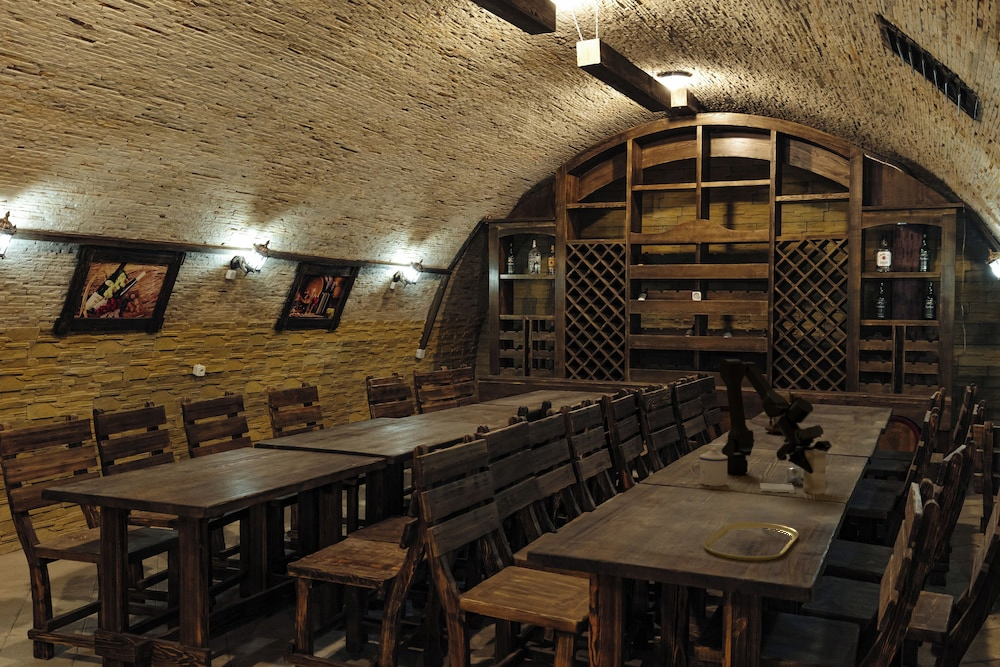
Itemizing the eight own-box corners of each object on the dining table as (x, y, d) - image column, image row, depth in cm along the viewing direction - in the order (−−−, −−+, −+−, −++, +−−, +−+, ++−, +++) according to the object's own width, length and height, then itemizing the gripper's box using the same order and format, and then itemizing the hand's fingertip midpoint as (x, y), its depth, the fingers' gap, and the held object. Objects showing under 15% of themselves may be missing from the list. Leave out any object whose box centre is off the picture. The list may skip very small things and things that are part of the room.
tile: (761, 491, 285) (761, 488, 285) (759, 486, 294) (759, 483, 294) (794, 493, 283) (794, 490, 283) (792, 487, 291) (792, 484, 291)
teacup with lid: (729, 482, 300) (729, 447, 299) (726, 487, 291) (726, 451, 291) (692, 479, 304) (692, 444, 303) (688, 484, 295) (688, 448, 295)
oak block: (803, 491, 285) (804, 450, 285) (814, 490, 287) (814, 449, 287) (814, 494, 281) (815, 452, 281) (825, 493, 283) (825, 451, 283)
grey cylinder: (787, 484, 297) (787, 469, 297) (786, 481, 302) (786, 466, 301) (801, 485, 296) (801, 469, 296) (800, 482, 301) (800, 467, 300)
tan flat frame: (804, 533, 234) (804, 527, 234) (776, 567, 204) (776, 560, 203) (731, 524, 243) (731, 519, 243) (693, 556, 212) (693, 549, 212)
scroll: (766, 435, 411) (767, 390, 410) (762, 430, 425) (763, 387, 424) (800, 436, 408) (801, 391, 408) (795, 431, 423) (796, 388, 422)
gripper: (783, 417, 283) (809, 458, 273) (827, 415, 291) (854, 454, 282) (765, 439, 290) (789, 480, 281) (808, 436, 298) (834, 475, 289)
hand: (817, 472), depth 283 cm, fingers open, 5 cm apart
